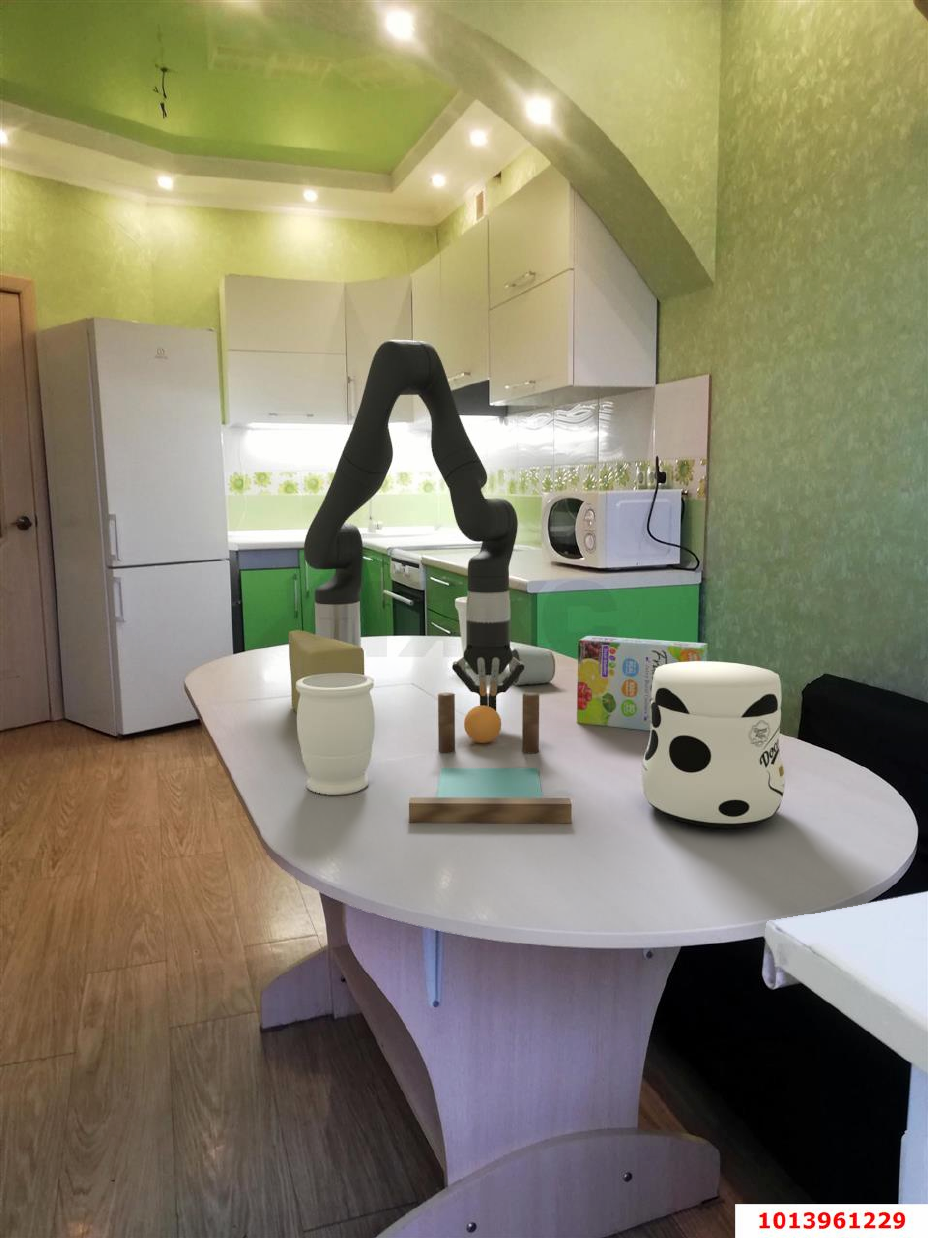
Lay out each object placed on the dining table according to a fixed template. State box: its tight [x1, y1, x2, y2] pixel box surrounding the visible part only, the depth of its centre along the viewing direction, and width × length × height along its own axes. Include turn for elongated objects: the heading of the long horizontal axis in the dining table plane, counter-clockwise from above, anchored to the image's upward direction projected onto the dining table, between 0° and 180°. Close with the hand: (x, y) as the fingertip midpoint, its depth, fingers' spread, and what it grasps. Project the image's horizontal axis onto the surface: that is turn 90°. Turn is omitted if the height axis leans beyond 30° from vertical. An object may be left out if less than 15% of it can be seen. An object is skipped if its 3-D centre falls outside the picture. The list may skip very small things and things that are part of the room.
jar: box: [296, 673, 376, 796], centre depth 118 cm, size 11×10×15 cm
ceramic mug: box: [508, 647, 556, 686], centre depth 181 cm, size 11×8×8 cm
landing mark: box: [436, 767, 543, 798], centre depth 119 cm, size 14×14×1 cm
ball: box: [463, 705, 502, 744], centre depth 139 cm, size 6×6×6 cm
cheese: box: [288, 629, 365, 713], centre depth 152 cm, size 22×10×15 cm, turn 31°
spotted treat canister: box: [641, 660, 786, 829], centre depth 108 cm, size 17×17×18 cm
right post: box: [521, 692, 540, 754], centre depth 134 cm, size 3×3×9 cm
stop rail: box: [408, 796, 573, 824], centre depth 107 cm, size 20×2×2 cm, turn 89°
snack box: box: [576, 635, 709, 732], centre depth 147 cm, size 21×6×15 cm, turn 65°
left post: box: [437, 692, 456, 754], centre depth 134 cm, size 3×3×9 cm
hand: (488, 715), depth 149 cm, fingers closed
